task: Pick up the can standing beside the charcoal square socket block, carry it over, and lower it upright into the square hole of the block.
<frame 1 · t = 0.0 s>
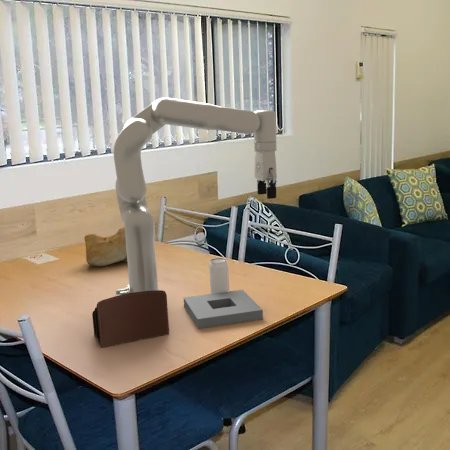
hand: (266, 196, 202), 31 cm above the table, tool pointing down, fingers open, 9 cm apart
can: (220, 294, 198), on the table
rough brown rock: (112, 261, 245), on the table
letter holder: (131, 335, 167), on the table
socket block: (222, 312, 181), on the table
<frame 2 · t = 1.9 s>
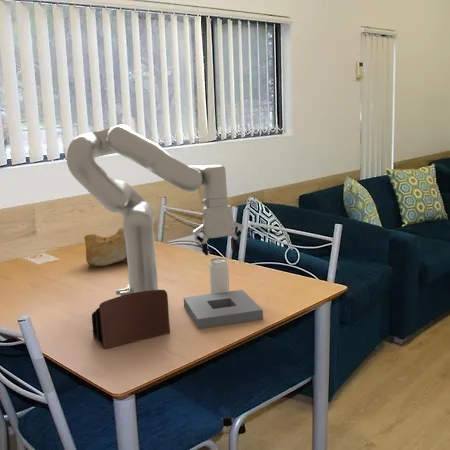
hand: (219, 252, 195), 15 cm above the table, tool pointing down, fingers open, 9 cm apart
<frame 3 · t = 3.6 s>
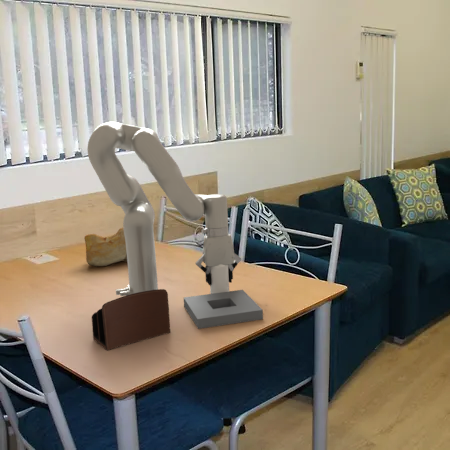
hand: (219, 282, 198), 4 cm above the table, tool pointing down, fingers closed on can, 6 cm apart
can: (220, 294, 198), on the table, touching gripper
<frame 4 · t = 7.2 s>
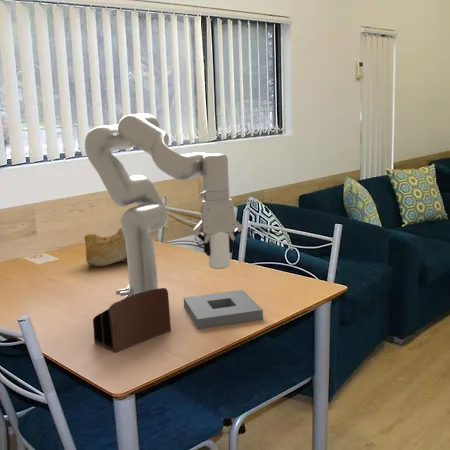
hand: (219, 252, 177), 19 cm above the table, tool pointing down, fingers closed on can, 6 cm apart
can: (219, 266, 178), point 15 cm above the table, touching gripper
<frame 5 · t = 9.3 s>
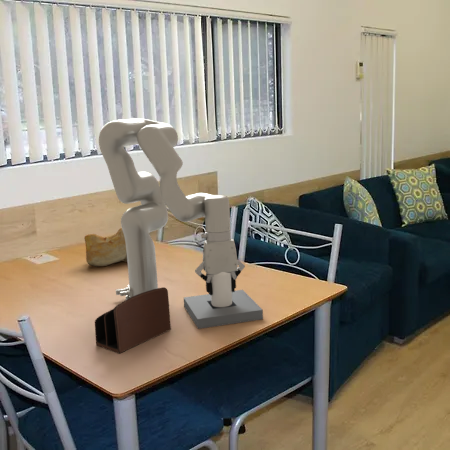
hand: (221, 291, 180), 7 cm above the table, tool pointing down, fingers closed on can, 6 cm apart
can: (221, 305, 181), point 2 cm above the table, touching gripper
when the fingers open (5 cm above the table, at t = 10.9 s): can drops 1 cm, resting in socket block.
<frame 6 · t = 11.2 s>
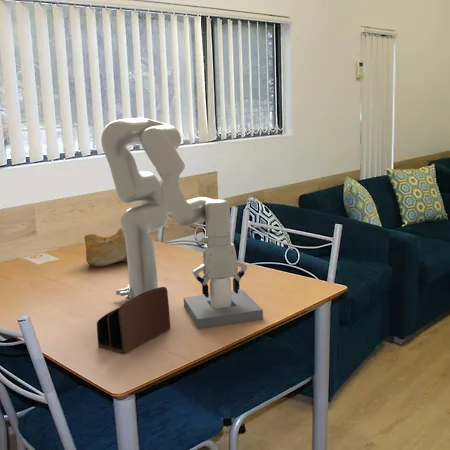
hand: (221, 294, 180), 6 cm above the table, tool pointing down, fingers open, 9 cm apart
can: (221, 312, 182), resting in socket block
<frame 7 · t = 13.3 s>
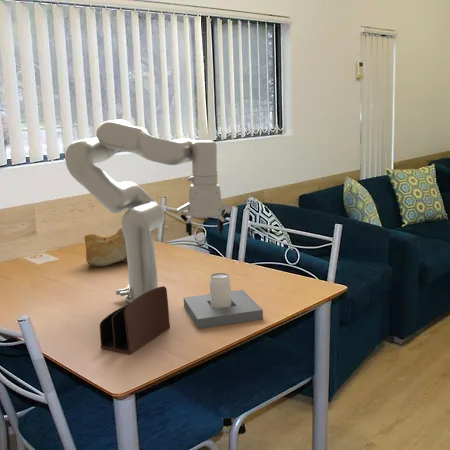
hand: (204, 233, 184), 23 cm above the table, tool pointing down, fingers open, 9 cm apart
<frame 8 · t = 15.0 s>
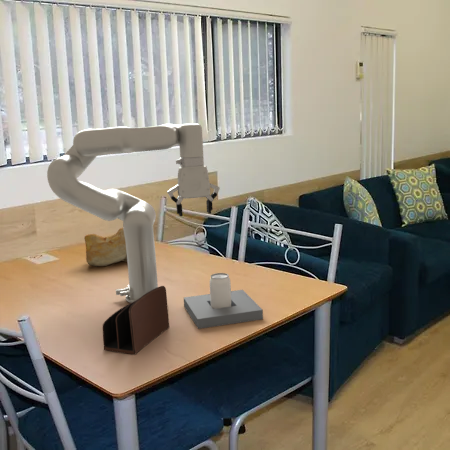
hand: (194, 214, 191), 28 cm above the table, tool pointing down, fingers open, 9 cm apart
at the end: can 0.3 cm off-centre on the socket block, point 0.0 cm above the socket block's base; can tilted 0°; the gripper is holding nothing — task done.
